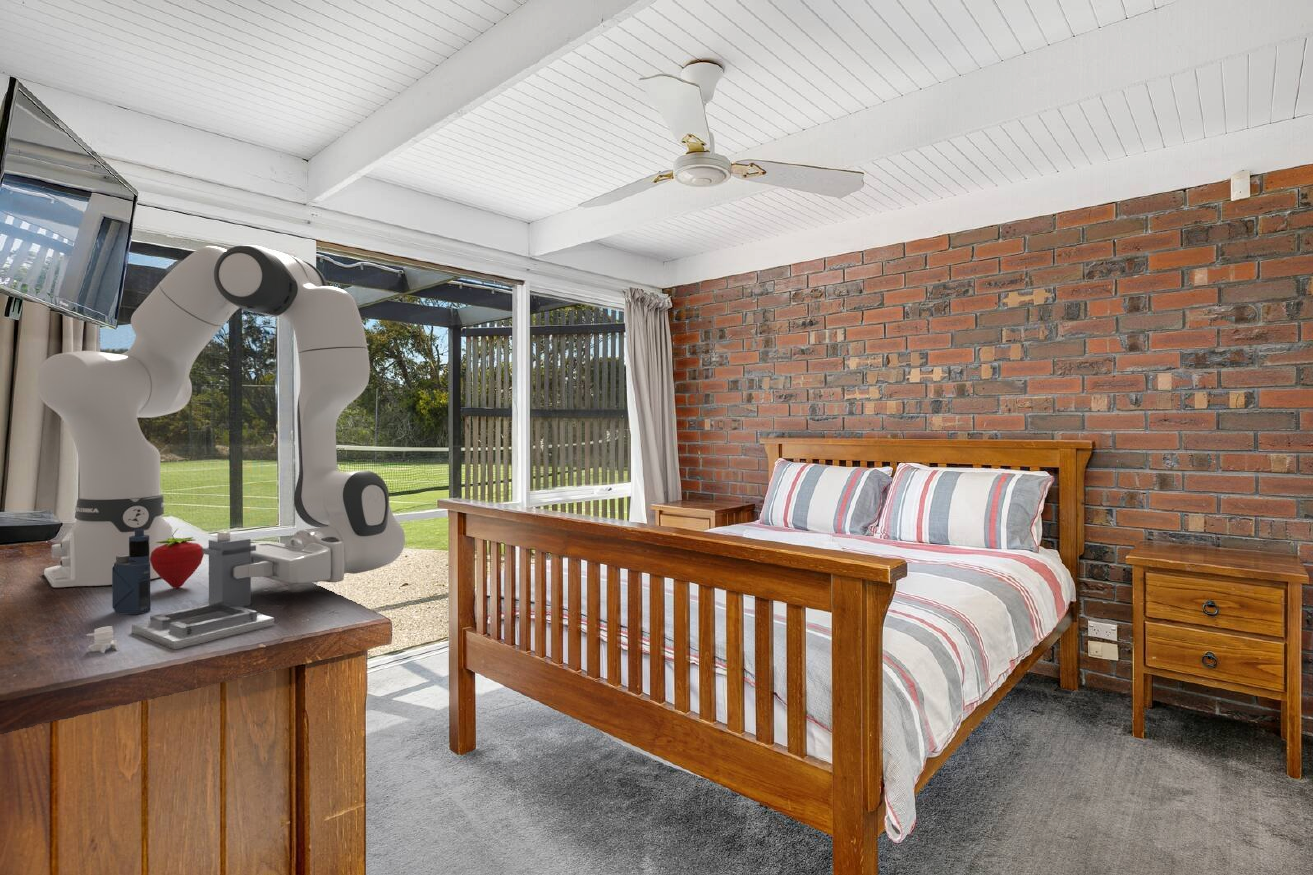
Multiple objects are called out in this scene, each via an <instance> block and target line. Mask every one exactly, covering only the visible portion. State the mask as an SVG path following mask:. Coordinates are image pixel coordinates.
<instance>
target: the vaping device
mask: <svg viewBox="0 0 1313 875" xmlns="http://www.w3.org/2000/svg"><path fill="white" fill-rule="evenodd" d="M148 541H149V535H144V529H137V530H135V536H130V537H129V554H124V555H118V556H116V562H115V563H114V567H113V568H112V585H111V586H112V590H111V591H112V592H111V594H112V596H111V597H112V600H111V601H112V602H111V604H112V606H111V607H112V609H113V610H114V613H115V614H123V615H139V614H144V613H147V612H150V611H151V579H150V547H149V542H148Z"/></svg>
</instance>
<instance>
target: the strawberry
mask: <svg viewBox="0 0 1313 875" xmlns="http://www.w3.org/2000/svg"><path fill="white" fill-rule="evenodd" d="M177 531H178V529H175V531H173V535H172V536H173V538H167V539H168V540H165V541H159V542H156V543H167V544H165V545H162V546H160V547H157V548H155V549H154V550H153V551H152V553H151V557H150V561H151V564H152V567H153V569H154V570H155V571H156V573H157V574H158V575H159V576H160V577H159V578H160V579H162V580H163V581H165V582H166V583H167V584H168V585H169V586H170V587H171V588H173V589H179V588H181V587H182V586H183V585H184V584H185V583H186V581H187V580H188V579H189V578H190V577H191V576H192V575H193V574H194V573H195V572H196V570H197V569H198V568H199V566H200V565H201V564H202V561H203V558H204V555H205V554H203V548H204V547H203V546H202V545H200V544H199V543H197V542H196V543H195V541H196V539H194V536H193V537H192V536H191V537H183V538H181V537H174V535H175V533H176V532H177Z"/></svg>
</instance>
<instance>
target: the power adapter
mask: <svg viewBox="0 0 1313 875" xmlns="http://www.w3.org/2000/svg"><path fill="white" fill-rule="evenodd" d="M113 634H114V630H113V626H112V625H111V626H102V627H99V628H98V627H97V628H95V629H94V632H92V633H87V634H86V637H93V638H94V639H93V643H92V644H90V645H89V646H88V649H89V650H90V651H91V652H93V653H94V652H100V653H102V654H105V651H106V647H107V646H110V648H112V650H113V649H114V650H115V651H117V652H119V647H118V646H119V644H118V639H113V638H114V637H115V636H114V635H113Z"/></svg>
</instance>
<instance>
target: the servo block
mask: <svg viewBox="0 0 1313 875" xmlns="http://www.w3.org/2000/svg"><path fill="white" fill-rule="evenodd" d="M251 543H252V541H251V538H247V537H242V536H231V531H218V532H217V538H215V539H208V547H203V554H204V555H207V556H208V604H213V603H218V602H223V601H224V602H227V603H231V604H234V605H237V606H241V607H246V606H247V607H248V606H251V605H252V602H251V601H252V595H251V594H252V591H251V590H252V584H251V583H252V580H251V579H252V577H245V578H239V579H237V578H234V577H231V567H232V566H234V565H240V564H251V551H256V545H251Z"/></svg>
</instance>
